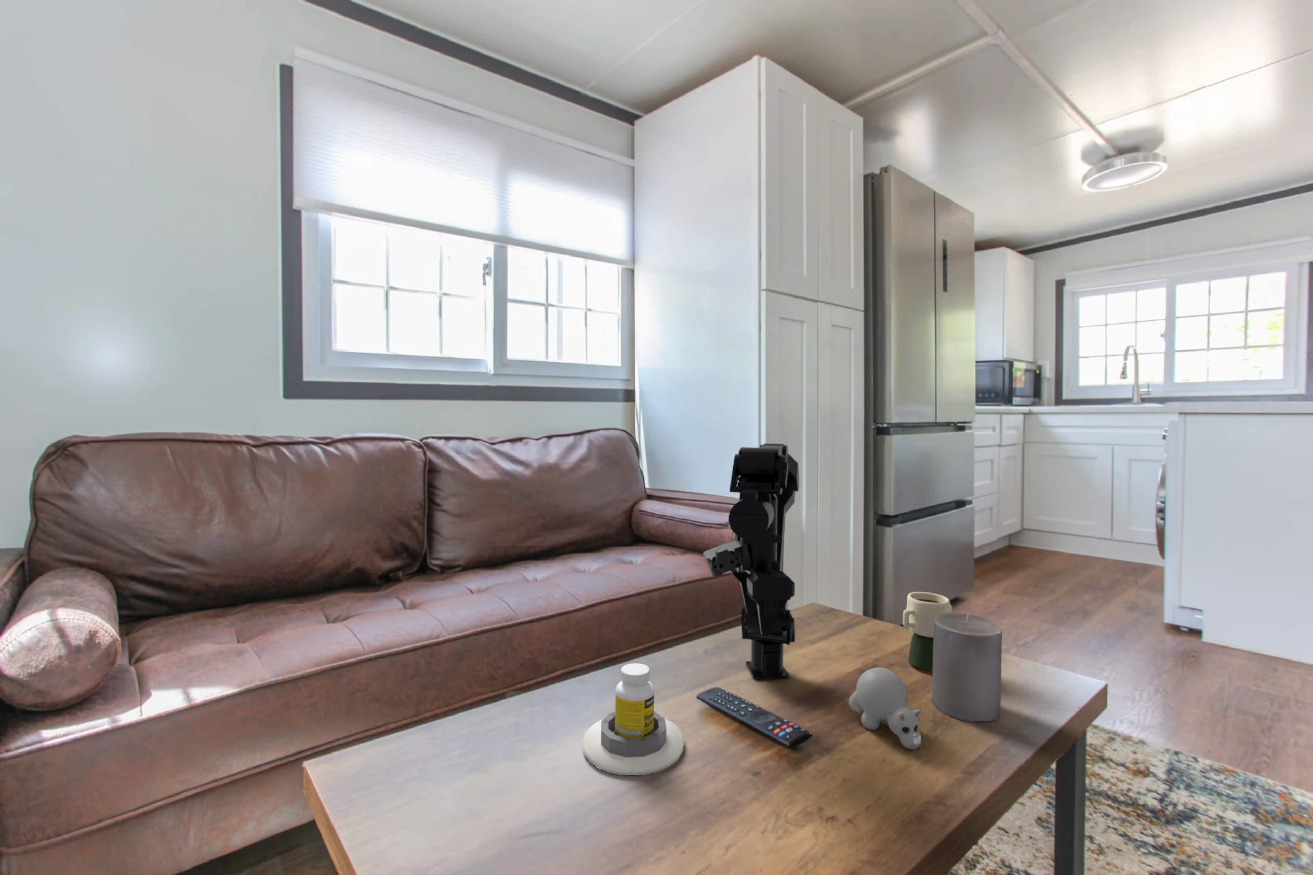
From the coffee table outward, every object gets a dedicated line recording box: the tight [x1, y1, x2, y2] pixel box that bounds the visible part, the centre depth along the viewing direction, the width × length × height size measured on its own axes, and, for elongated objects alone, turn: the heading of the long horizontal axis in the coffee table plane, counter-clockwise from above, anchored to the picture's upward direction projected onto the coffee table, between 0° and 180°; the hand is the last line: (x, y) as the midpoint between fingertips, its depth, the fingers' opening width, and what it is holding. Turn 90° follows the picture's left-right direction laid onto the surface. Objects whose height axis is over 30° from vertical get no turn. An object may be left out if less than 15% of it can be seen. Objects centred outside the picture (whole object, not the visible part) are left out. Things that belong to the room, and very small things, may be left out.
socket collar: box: [582, 711, 685, 776], centre depth 83 cm, size 14×14×3 cm
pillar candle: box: [931, 612, 1003, 723], centre depth 94 cm, size 10×10×15 cm
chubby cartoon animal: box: [848, 667, 922, 750], centre depth 86 cm, size 7×12×8 cm, turn 17°
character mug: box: [902, 591, 953, 672], centre depth 109 cm, size 11×7×13 cm, turn 109°
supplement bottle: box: [614, 662, 655, 738], centre depth 82 cm, size 5×5×10 cm
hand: (757, 624), depth 94 cm, fingers open, 9 cm apart
